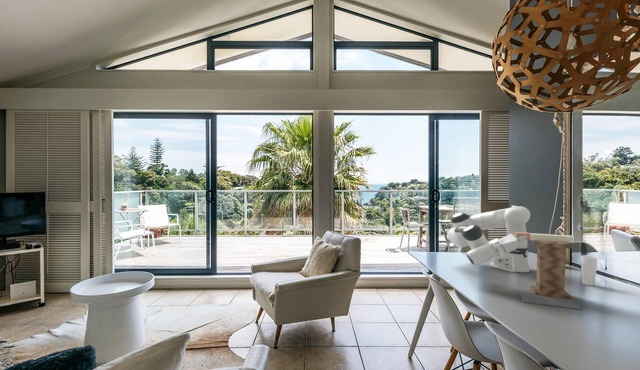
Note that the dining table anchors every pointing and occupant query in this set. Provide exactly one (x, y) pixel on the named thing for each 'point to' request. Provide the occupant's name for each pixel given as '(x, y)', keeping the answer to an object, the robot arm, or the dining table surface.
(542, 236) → the white stick tan end
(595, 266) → the drinking glass
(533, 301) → the mat
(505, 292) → the dining table surface
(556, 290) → the walnut stand
